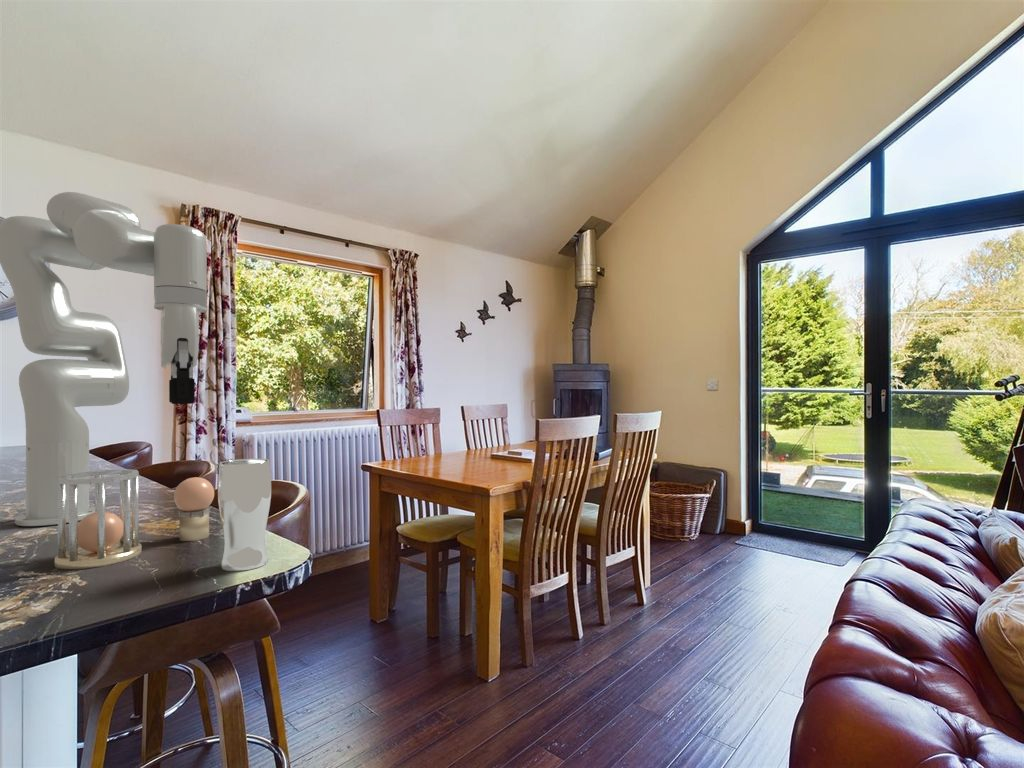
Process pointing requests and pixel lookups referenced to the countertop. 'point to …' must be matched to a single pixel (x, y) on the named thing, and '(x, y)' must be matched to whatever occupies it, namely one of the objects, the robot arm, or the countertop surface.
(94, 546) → the ball
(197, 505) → the terracotta ball
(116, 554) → the cage tube
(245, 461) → the beer glass
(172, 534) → the countertop surface
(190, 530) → the stand
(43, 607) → the countertop surface
